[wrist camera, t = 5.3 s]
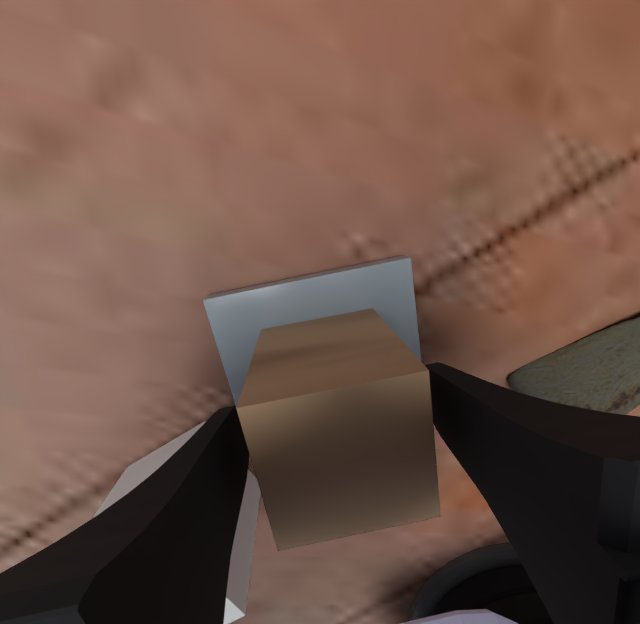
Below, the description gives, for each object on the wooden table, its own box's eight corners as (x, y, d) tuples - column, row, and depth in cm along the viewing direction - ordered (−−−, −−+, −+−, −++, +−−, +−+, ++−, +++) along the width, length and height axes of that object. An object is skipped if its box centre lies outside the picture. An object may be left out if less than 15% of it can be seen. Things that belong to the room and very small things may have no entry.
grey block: (261, 483, 17) (245, 615, 11) (188, 524, 18) (136, 671, 12) (206, 419, 16) (156, 532, 10) (127, 466, 16) (36, 600, 10)
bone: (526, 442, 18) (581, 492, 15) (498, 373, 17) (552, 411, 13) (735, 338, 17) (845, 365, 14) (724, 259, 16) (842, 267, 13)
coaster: (421, 420, 17) (429, 431, 16) (257, 455, 17) (255, 469, 16) (402, 255, 14) (410, 257, 13) (208, 294, 14) (202, 300, 13)
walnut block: (385, 404, 15) (440, 516, 9) (284, 424, 15) (277, 550, 9) (372, 308, 14) (428, 370, 8) (261, 329, 14) (235, 408, 8)
